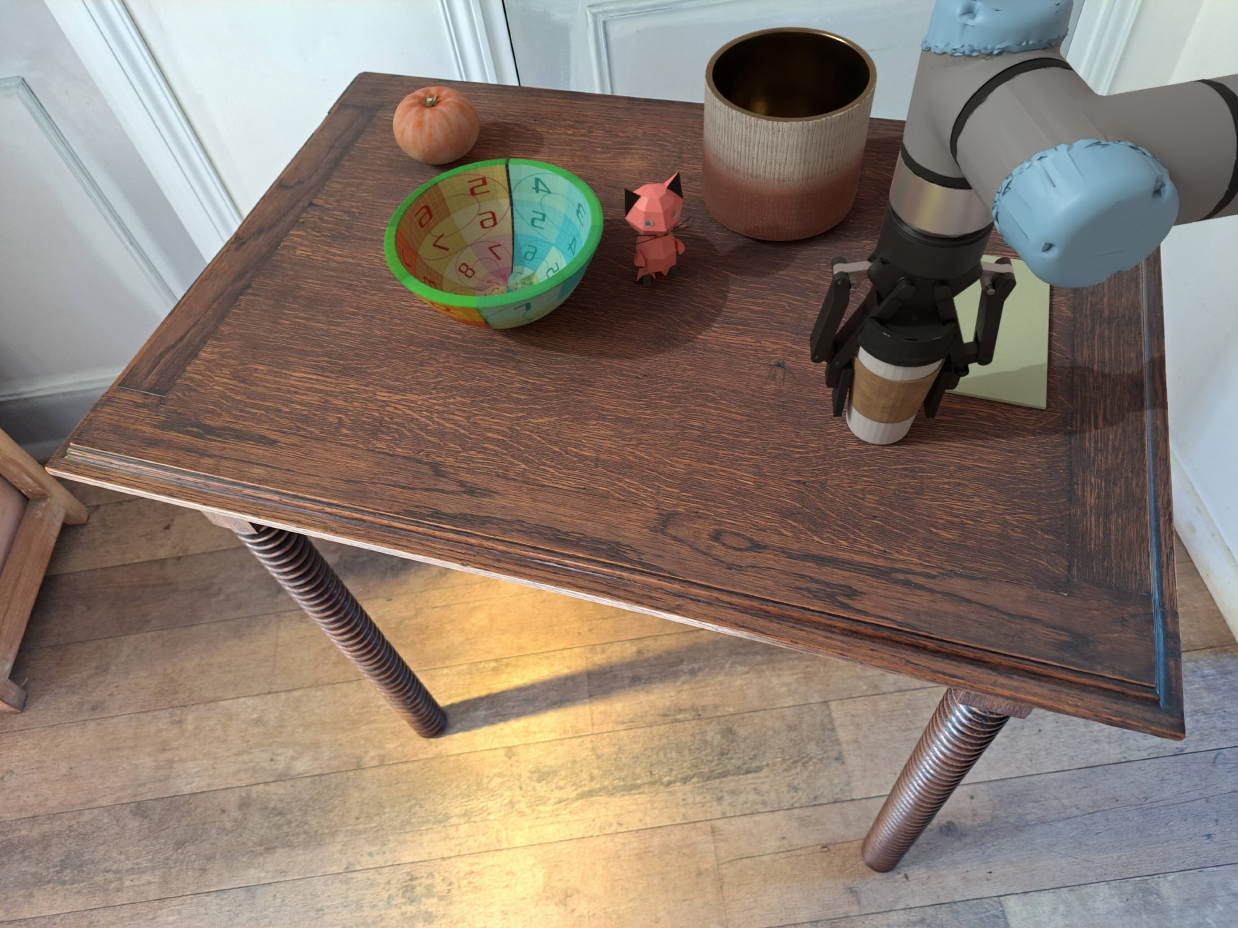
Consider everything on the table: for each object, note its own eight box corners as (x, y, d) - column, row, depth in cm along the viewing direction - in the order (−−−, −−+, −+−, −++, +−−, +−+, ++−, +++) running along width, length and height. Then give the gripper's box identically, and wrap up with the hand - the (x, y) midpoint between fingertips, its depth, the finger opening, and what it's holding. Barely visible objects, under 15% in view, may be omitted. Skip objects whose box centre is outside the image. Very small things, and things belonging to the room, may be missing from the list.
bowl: (583, 388, 86) (572, 317, 78) (379, 360, 90) (348, 291, 82) (630, 240, 98) (625, 165, 90) (448, 221, 102) (427, 149, 94)
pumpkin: (478, 178, 107) (465, 121, 100) (394, 180, 108) (375, 123, 101) (491, 126, 113) (479, 69, 106) (411, 128, 114) (394, 71, 107)
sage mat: (1044, 409, 81) (1046, 407, 80) (893, 383, 84) (893, 380, 83) (1049, 266, 91) (1050, 263, 91) (914, 247, 94) (915, 245, 94)
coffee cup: (831, 451, 79) (856, 341, 67) (833, 382, 84) (857, 266, 72) (925, 460, 78) (968, 349, 66) (922, 389, 83) (962, 273, 70)
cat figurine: (638, 299, 93) (632, 210, 83) (615, 260, 96) (606, 170, 87) (697, 279, 94) (698, 189, 84) (672, 242, 98) (670, 150, 88)
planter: (688, 239, 98) (688, 115, 85) (715, 145, 107) (719, 20, 94) (847, 256, 94) (872, 130, 81) (860, 157, 104) (884, 30, 91)
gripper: (1081, 171, 61) (989, 377, 80) (793, 173, 64) (769, 373, 82) (1106, 242, 57) (1003, 441, 76) (797, 241, 59) (771, 435, 78)
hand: (882, 406), depth 79 cm, fingers closed on coffee cup, 8 cm apart
